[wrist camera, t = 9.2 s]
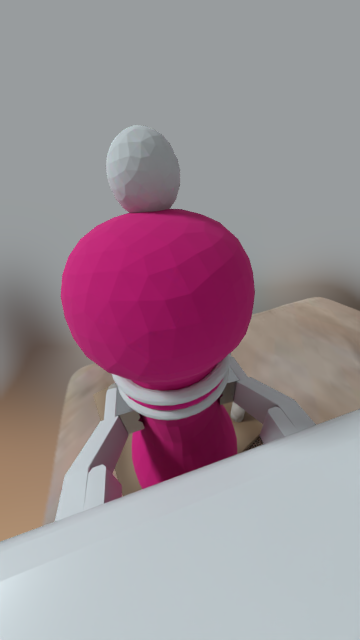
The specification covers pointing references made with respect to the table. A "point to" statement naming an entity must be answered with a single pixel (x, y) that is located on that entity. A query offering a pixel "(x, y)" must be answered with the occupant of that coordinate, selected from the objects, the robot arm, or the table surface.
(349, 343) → the table surface
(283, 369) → the table surface
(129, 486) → the pin base
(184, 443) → the pepper mill
